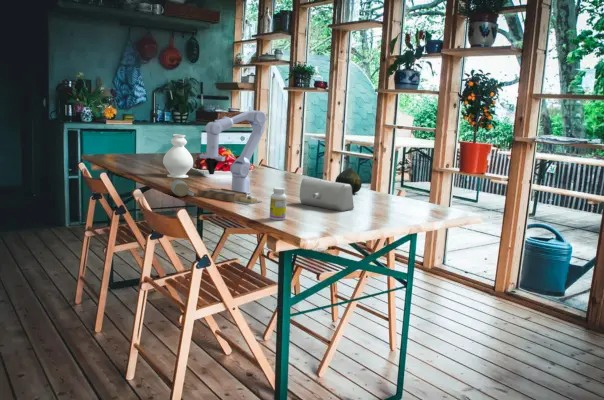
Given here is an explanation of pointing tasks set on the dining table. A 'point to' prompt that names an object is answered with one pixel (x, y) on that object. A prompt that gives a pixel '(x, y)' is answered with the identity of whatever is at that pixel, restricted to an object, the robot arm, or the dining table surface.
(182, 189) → the ceramic mug
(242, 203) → the mat
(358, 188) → the squash
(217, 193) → the body
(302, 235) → the dining table surface
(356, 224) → the dining table surface
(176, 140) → the decorative vase
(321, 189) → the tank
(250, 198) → the lever cap
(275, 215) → the supplement bottle
